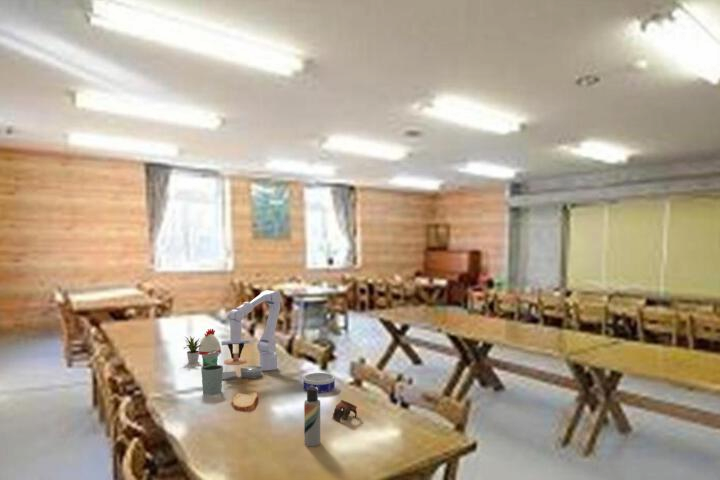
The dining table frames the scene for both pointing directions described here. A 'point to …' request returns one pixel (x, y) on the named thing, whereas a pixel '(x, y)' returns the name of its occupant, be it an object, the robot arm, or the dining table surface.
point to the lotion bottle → (312, 418)
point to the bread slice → (245, 401)
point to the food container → (210, 358)
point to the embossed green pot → (212, 379)
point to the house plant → (193, 350)
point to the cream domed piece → (209, 343)
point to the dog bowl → (319, 382)
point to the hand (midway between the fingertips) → (235, 357)
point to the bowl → (251, 371)
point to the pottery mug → (346, 411)
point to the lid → (235, 360)
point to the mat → (229, 375)
